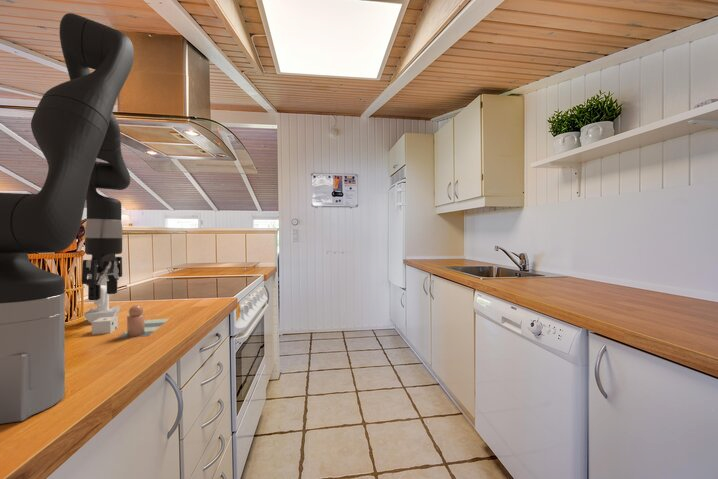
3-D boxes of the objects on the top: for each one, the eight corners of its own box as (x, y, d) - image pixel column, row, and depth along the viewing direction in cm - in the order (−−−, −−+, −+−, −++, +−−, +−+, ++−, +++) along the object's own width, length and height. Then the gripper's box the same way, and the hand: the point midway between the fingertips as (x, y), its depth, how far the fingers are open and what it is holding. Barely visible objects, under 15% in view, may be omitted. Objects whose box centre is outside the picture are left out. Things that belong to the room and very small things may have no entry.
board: (148, 338, 74) (148, 335, 74) (115, 340, 72) (115, 338, 72) (169, 320, 89) (169, 318, 89) (143, 322, 87) (143, 320, 87)
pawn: (141, 336, 74) (141, 306, 74) (124, 337, 73) (124, 307, 73) (146, 331, 77) (146, 303, 77) (131, 332, 76) (131, 304, 76)
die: (110, 335, 76) (110, 320, 76) (91, 337, 75) (91, 321, 75) (117, 330, 80) (117, 316, 80) (100, 332, 78) (100, 317, 78)
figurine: (81, 328, 81) (81, 275, 81) (92, 319, 89) (92, 271, 89) (114, 324, 84) (114, 274, 84) (121, 316, 93) (122, 270, 92)
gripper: (106, 236, 71) (106, 301, 71) (133, 236, 85) (132, 291, 85) (68, 236, 69) (68, 303, 69) (102, 236, 82) (101, 292, 82)
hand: (103, 296), depth 77 cm, fingers open, 8 cm apart
